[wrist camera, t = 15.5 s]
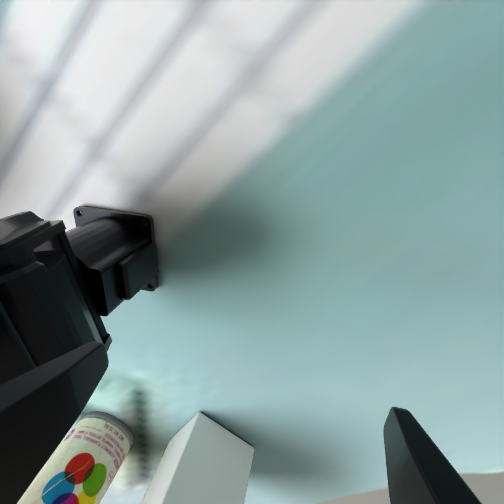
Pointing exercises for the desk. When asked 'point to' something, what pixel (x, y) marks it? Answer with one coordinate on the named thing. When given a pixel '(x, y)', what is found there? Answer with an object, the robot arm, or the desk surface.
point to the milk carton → (202, 467)
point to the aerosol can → (82, 463)
